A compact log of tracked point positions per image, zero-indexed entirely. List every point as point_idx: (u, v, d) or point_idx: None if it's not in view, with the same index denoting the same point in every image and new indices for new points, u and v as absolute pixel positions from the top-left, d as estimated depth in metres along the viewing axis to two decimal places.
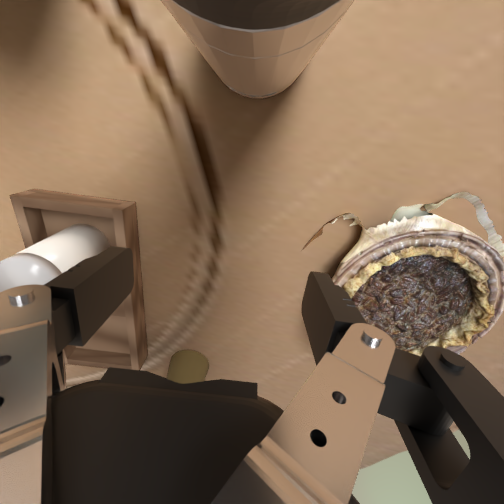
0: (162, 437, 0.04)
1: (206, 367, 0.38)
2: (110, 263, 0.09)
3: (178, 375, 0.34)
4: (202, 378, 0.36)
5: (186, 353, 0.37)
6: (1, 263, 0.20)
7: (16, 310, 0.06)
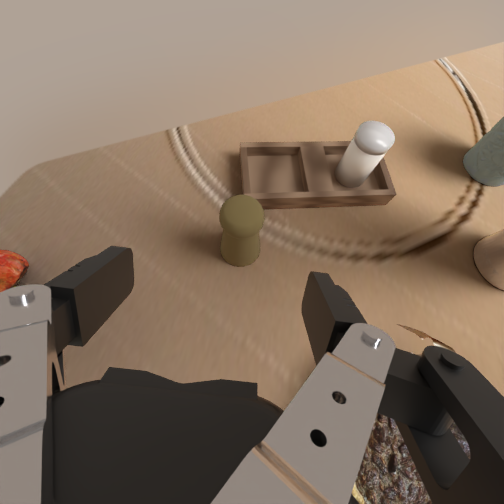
0: (162, 437, 0.04)
1: (247, 262, 0.35)
2: (110, 263, 0.09)
3: None
4: (247, 256, 0.34)
5: None
6: (387, 127, 0.35)
7: (16, 310, 0.06)
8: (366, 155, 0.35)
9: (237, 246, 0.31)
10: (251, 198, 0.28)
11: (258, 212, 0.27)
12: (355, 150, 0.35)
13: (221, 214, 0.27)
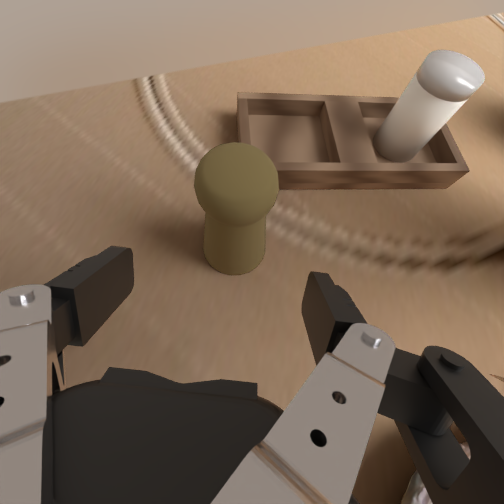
0: (162, 437, 0.04)
1: (245, 269, 0.22)
2: (110, 263, 0.09)
3: None
4: (245, 259, 0.20)
5: None
6: (470, 59, 0.22)
7: (16, 310, 0.06)
8: (438, 103, 0.22)
9: (227, 241, 0.18)
10: (255, 149, 0.15)
11: (268, 172, 0.14)
12: (418, 95, 0.23)
13: (197, 176, 0.14)
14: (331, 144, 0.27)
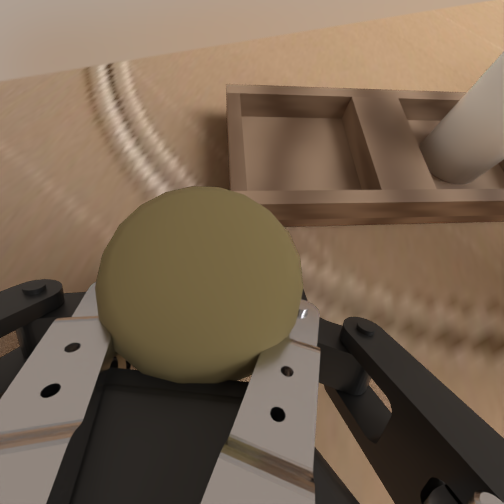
0: (162, 437, 0.04)
1: None
2: None
3: None
4: None
5: None
6: None
7: None
8: None
9: None
10: (247, 204, 0.06)
11: (279, 272, 0.05)
12: None
13: (97, 281, 0.06)
14: (363, 160, 0.18)
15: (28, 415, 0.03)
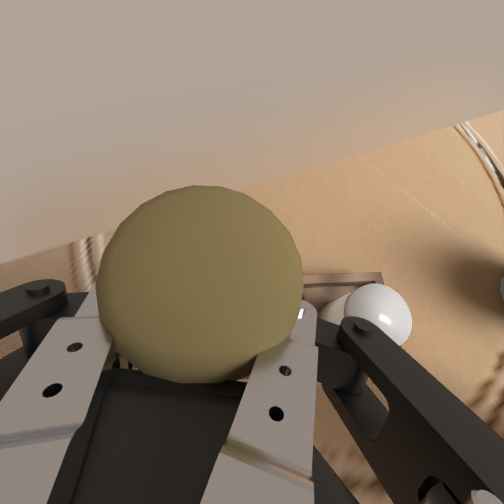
0: (162, 437, 0.04)
1: None
2: None
3: None
4: None
5: None
6: (399, 297, 0.21)
7: None
8: None
9: None
10: (248, 203, 0.06)
11: (280, 272, 0.05)
12: None
13: (97, 280, 0.05)
14: None
15: (30, 415, 0.03)
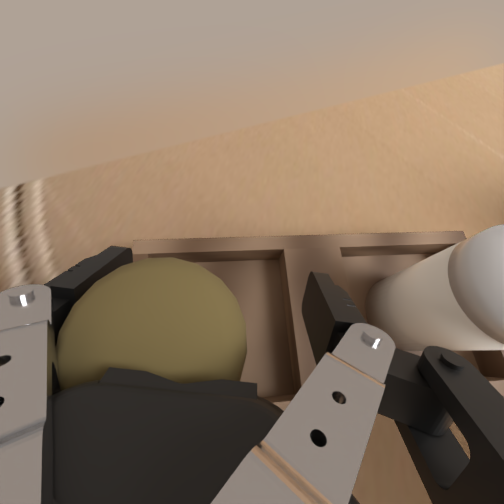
0: (162, 437, 0.04)
1: None
2: (110, 263, 0.09)
3: None
4: None
5: None
6: None
7: (16, 310, 0.06)
8: (495, 344, 0.10)
9: None
10: (191, 278, 0.07)
11: (215, 347, 0.06)
12: (453, 316, 0.11)
13: None
14: (292, 337, 0.16)
15: None
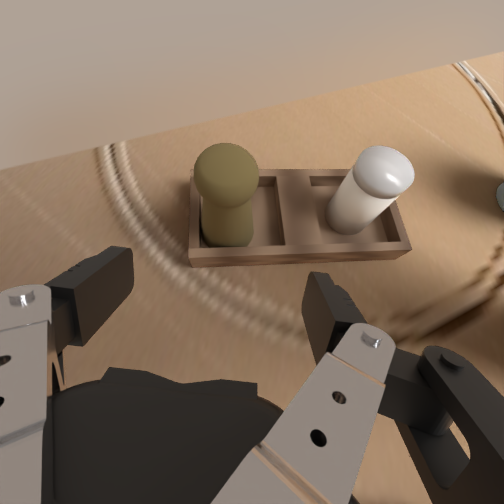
0: (162, 437, 0.04)
1: None
2: (110, 263, 0.09)
3: None
4: (236, 238, 0.25)
5: None
6: (402, 156, 0.23)
7: (16, 310, 0.06)
8: (371, 199, 0.23)
9: (221, 222, 0.22)
10: (239, 147, 0.19)
11: (249, 165, 0.18)
12: (354, 189, 0.23)
13: (195, 170, 0.18)
14: (280, 221, 0.28)
15: None
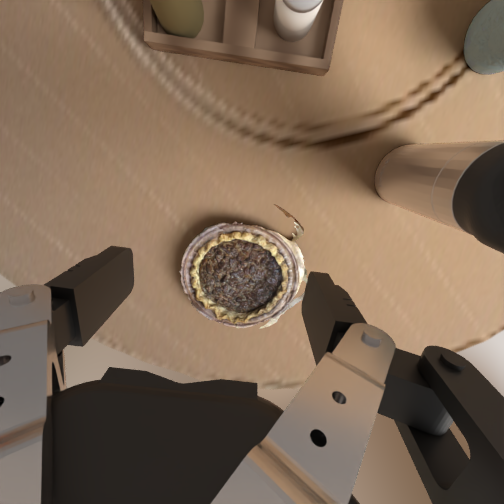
0: (162, 437, 0.04)
1: None
2: (110, 263, 0.09)
3: None
4: (180, 28, 0.30)
5: (202, 9, 0.31)
6: None
7: (16, 310, 0.06)
8: (287, 9, 0.26)
9: (160, 11, 0.27)
10: None
11: None
12: None
13: None
14: None
15: None
